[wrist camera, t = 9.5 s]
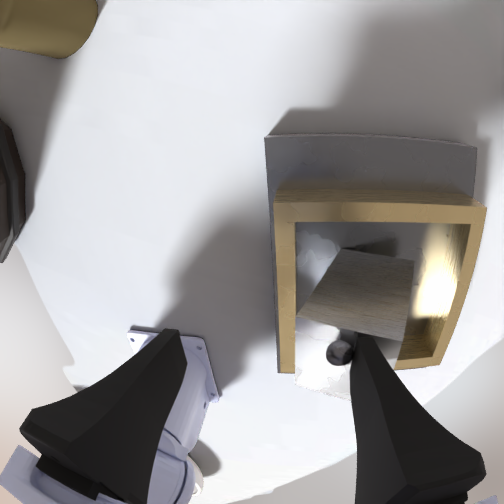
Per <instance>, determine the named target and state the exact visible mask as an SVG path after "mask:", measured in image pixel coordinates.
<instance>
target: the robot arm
mask: <svg viewBox="0 0 504 504" xmlns="http://www.w3.org/2000/svg"><path fill="white" fill-rule="evenodd" d="M127 337H128V339H129V341H130V344H131V346H132V348H133V351H134V353H135V355H134V356H133V357H132V358H130V359H129V360H128V361H127V362H125V363H124V364H123V365H121V366H120V367H119V368H117V369H116V370H115V371H113V372H112V373H111V374H109V375H108V376H106V377H105V378H103V379H102V380H100V381H98V382H97V383H95V384H93V385H92V386H90V387H88V388H86V389H84V390H82V391H80V392H78V393H76V394H74V395H72V396H70V397H67V398H65V399H62V400H60V401H57V402H54V403H52V404H48V405H45V406H42V407H38V408H35V409H32V410H31V412H30V413H29V415H28V416H27V418H26V419H25V421H24V422H23V424H22V425H21V427H20V428H19V429H20V432H21V434H22V435H23V436H24V437H25V439H26V440H28V442H29V443H30V444H32V445H33V446H34V447H35V448H36V449H37V450H38V451H39V452H40V453H41V454H42V455H41V457H40V458H38V457H37V456H36V455H34V454H33V453H31V452H29V451H28V450H27V449H25V448H24V447H22V446H21V445H18V446H17V448H16V449H15V451H14V453H13V455H12V456H11V458H10V460H9V461H8V463H7V465H6V466H5V468H4V470H3V472H2V473H1V475H0V485H2V486H3V487H4V488H5V489H6V490H8V491H9V492H10V493H11V494H12V495H13V496H14V497H16V498H17V499H18V500H19V501H21V502H22V503H23V504H188V503H189V501H190V499H191V497H192V494H193V491H194V487H195V481H196V476H195V472H194V467H193V465H192V463H191V462H190V461H189V460H187V459H186V458H187V455H188V453H189V452H190V451H191V450H192V449H193V448H194V446H195V445H196V443H197V440H198V437H199V434H200V431H201V427H202V424H203V421H204V418H205V415H206V412H207V408H208V405H209V402H218V401H219V395H218V391H217V388H216V384H215V380H214V377H213V373H212V369H211V365H210V361H209V358H208V354H207V350H206V346H205V342H204V340H203V339H202V338H199V337H188V336H180V334H179V331H178V330H174V329H164V330H163V331H162V332H160V333H150V332H142V331H134V330H129V331H128V332H127ZM199 346H200V347H199ZM349 373H350V396H351V403H352V410H353V417H354V424H355V432H356V440H357V479H356V494H355V504H465V503H464V502H465V501H467V500H468V495H467V491H469V490H470V489H472V488H473V487H474V486H475V485H477V484H478V483H479V482H481V481H482V480H483V479H484V477H485V476H486V470H485V465H484V461H483V458H482V456H481V453H480V452H478V451H477V450H475V449H474V448H472V447H470V446H469V445H467V444H465V443H464V442H462V441H461V440H459V439H458V438H457V437H455V436H454V435H453V434H451V433H450V432H449V431H448V430H446V429H445V428H444V427H443V426H442V425H441V424H440V423H438V422H437V421H436V420H435V419H434V418H433V417H432V416H431V415H430V414H429V413H428V412H427V411H426V410H425V409H424V408H423V407H422V406H421V405H420V404H419V403H418V401H417V400H416V399H415V398H414V397H413V396H412V394H411V393H410V392H409V391H408V389H407V388H406V387H405V385H404V384H403V383H402V381H401V380H400V379H399V377H398V376H397V374H396V373H395V372H394V370H393V369H392V367H391V366H390V364H389V363H388V361H387V360H386V358H385V357H384V355H383V353H382V352H381V350H380V349H379V347H378V345H377V344H376V342H375V340H374V339H373V338H372V337H357V340H356V345H355V350H354V356H353V359H352V363H351V367H350V371H349ZM474 504H498V501H497V496H496V495H494V496H491V497H489V498H487V499H484V500H482V501H479V502H477V503H474Z"/></svg>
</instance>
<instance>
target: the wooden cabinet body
mask: <svg viewBox="0 0 504 504" xmlns="http://www.w3.org/2000/svg"><path fill="white" fill-rule="evenodd" d="M264 142H265V155H266V169H267V183H268V198H269V213H270V229H271V245H272V262H273V281H274V300H275V321H276V343H277V368H278V373H295V317H296V315H297V314H298V312H299V311H300V309H301V308H302V306H303V305H304V304H305V302H306V301H307V299H308V298H309V296H310V295H311V293H312V292H313V290H314V289H315V287H316V286H317V284H318V283H319V281H320V280H321V278H322V277H323V275H324V274H325V272H326V271H327V269H328V268H329V266H330V265H331V263H332V262H333V260H334V258H335V257H336V255H337V254H338V252H339V251H340V249H347V250H354V251H360V252H366V253H372V254H378V255H384V256H390V257H396V258H401V259H407V260H413V261H415V262H414V272H413V280H412V288H411V296H410V302H409V309H408V315H407V321H406V326H405V332H404V337H403V342H402V345H401V348H400V352H399V355H398V358H397V361H396V364H395V367H394V370H405V369H415V368H424V367H427V366H435V365H440V363H441V361H442V358H443V356H444V354H445V351H446V349H447V347H448V344H449V342H450V339H451V337H452V334H453V332H454V329H455V327H456V324H457V321H458V318H459V316H460V313H461V310H462V307H463V304H464V301H465V298H466V295H467V291H468V288H469V285H470V281H471V278H472V274H473V271H474V267H475V263H476V259H477V255H478V251H479V247H480V242H481V237H482V233H483V227H484V222H485V217H486V211H487V207H485V206H484V205H482V204H481V203H479V202H478V201H476V200H475V199H473V191H474V182H475V171H476V157H477V148H476V147H473V146H469V145H466V144H463V143H457V142H449V141H442V140H433V139H424V138H414V137H402V136H388V135H370V134H332V133H316V134H278V135H267V136H266V137H264Z"/></svg>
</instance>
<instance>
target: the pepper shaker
mask: <svg viewBox="0 0 504 504" xmlns="http://www.w3.org/2000/svg"><path fill="white" fill-rule="evenodd" d="M97 15H98V5H97V3H96V0H0V47H2V48H8V49H14V50H19V51H25V52H29V53H34V54H39V55H43V56H48V57H52V58H56V59H61V58H66V57H68V56H70V55H72V54H74V53H75V52H76V51H77V50H78V49H79V48H81V47H82V45H83V44H84V43H85V41H86V40H87V39H88V38H89V36H90V34H91V32H92V30H93V28H94V26H95V22H96V19H97Z"/></svg>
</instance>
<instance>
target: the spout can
mask: <svg viewBox="0 0 504 504" xmlns="http://www.w3.org/2000/svg"><path fill="white" fill-rule="evenodd" d="M414 262H415V261H413V260H407V259H401V258H396V257H390V256H384V255H378V254H372V253H366V252H360V251H354V250H347V249H340V251H339V252H338V254H337V255H336V257H335V258H334V260H333V262H332V263H331V265H330V266H329V268H328V269H327V271H326V272H325V274H324V275H323V277H322V278H321V280H320V281H319V283H318V284H317V286H316V287H315V289H314V290H313V292H312V293H311V295H310V296H309V298H308V299H307V301H306V302H305V304H304V305H303V306H302V308H301V309H300V311H299V312H298V314H297V315H296V317H295V385H298V386H301V387H304V388H307V389H311V390H314V391H317V392H321V393H324V394H327V395H331V396H334V397H338V398H342V399H345V400H349V401H351V396H350V373H349V371H350V367H351V363H352V359H353V356H354V350H355V345H356V340H357V337H372V338H373V339H374V340H375V342H376V344H377V345H378V347H379V349H380V350H381V352H382V353H383V355H384V357H385V358H386V360H387V361H388V363H389V364H390V366H391V367H392V369H393V370H394V367H395V364H396V361H397V358H398V355H399V352H400V348H401V345H402V342H403V337H404V332H405V326H406V321H407V315H408V309H409V302H410V296H411V288H412V280H413V272H414Z"/></svg>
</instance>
